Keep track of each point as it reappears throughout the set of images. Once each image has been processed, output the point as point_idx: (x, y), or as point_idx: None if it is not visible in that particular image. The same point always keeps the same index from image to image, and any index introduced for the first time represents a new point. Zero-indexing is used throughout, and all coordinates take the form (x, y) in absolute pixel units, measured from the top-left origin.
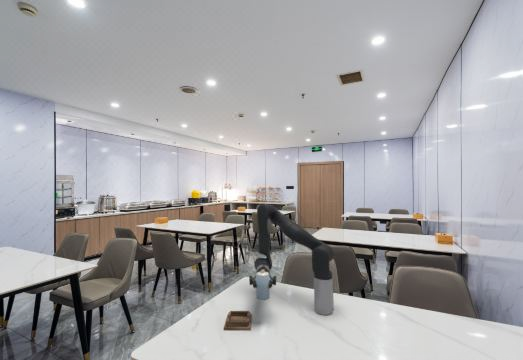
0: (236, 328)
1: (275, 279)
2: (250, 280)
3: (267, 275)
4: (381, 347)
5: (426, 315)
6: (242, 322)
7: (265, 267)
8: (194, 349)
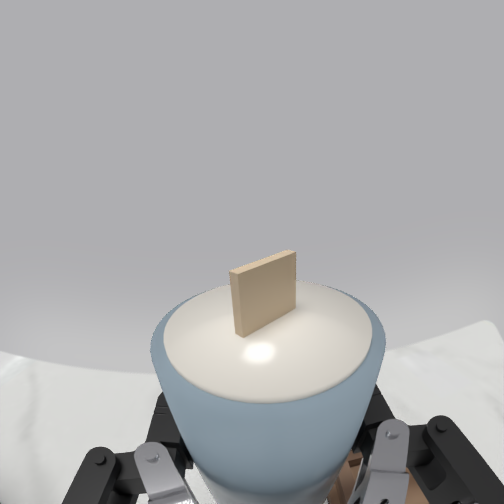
0: None
1: (87, 461)
2: (435, 418)
3: (195, 296)
4: (3, 368)
5: None
6: None
7: None
8: (427, 354)
